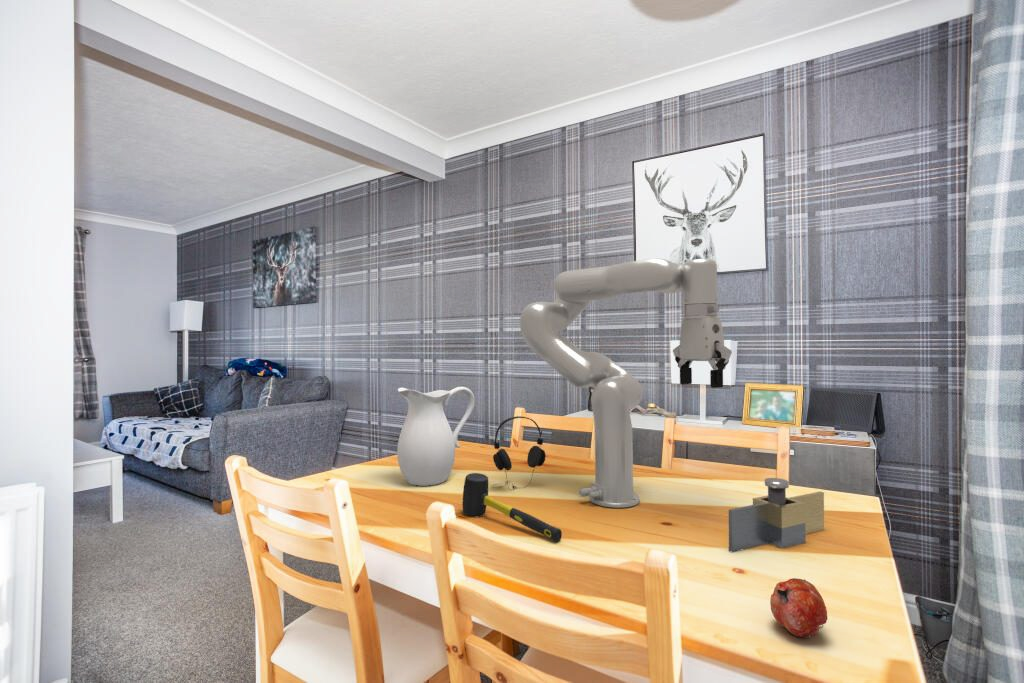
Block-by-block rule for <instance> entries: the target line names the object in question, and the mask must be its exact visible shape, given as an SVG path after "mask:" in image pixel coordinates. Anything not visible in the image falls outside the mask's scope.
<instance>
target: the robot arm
mask: <svg viewBox="0 0 1024 683" xmlns="http://www.w3.org/2000/svg"><path fill="white" fill-rule="evenodd" d="M717 268H718V267H717V263H716V261H715V260H714V259H712V258H695V259H694V258H693V259H689V260H686V261H685V262H684V263H677V262H673V261H671V260H668V259H664V258H649V259H642V260H633V261H626V262H621V263H618V264H617V263H616V264H612V265H607V266H605V265H604V266H599V267H588V268H581V269H571V270H566V271H563V272H561V273H559V274H558V275H557V276H556V277H555V279H554V282H553V291H554V293H555V295H556V297H557V298H556V299H555V300H554V301H553V302H550V301H536V302H532V303H529V304H528V305H526V306H525V307H524V308H523V310H522V312H521V314H520V318H519V327H520V328H519V329H520V334H521V337H522V339H523V340H524V342H525V343H526V345H527V346H528V347H529V349H530V350H531V351H532V352H533V353H535V355H537V356H538V357H540V358H541V359H542V360H543V361H544V362H546V364H548V365H549V366H550V367H551V369H552V368H553V369H554V370H555V371H556V373H558V374H559V375H561V377H563V378H564V379H565V380H567V381H568V382H569V383H570V384H571V385H573V386H574V387H576V388H579V389H586V388H590V387H591V388H593V390H592V392H591V400H590V402H591V408H592V416H593V423H594V424H593V426H594V471H595V472H594V473H595V475H594V476H595V477H594V478H595V480H594V482H593V481H592V482H591V486H589V487H584V488H579V490H578V494H579V497H589V498H588V499H589V501H590V502H591V503H592V504H595V505H597V506H600V507H606V508H613V509H614V508H617V509H621V508H622V509H623V508H631V507H634V506H637V505H638V504H639V503H640V499H641V498H640V496H639V494H637V493H635V492H634V458H633V457H634V456H633V455H634V448H633V445H634V443H633V442H634V441H633V426H632V425H633V424H632V419H631V412H630V410H633V409H634V408H636V407H637V406H639V404H640V403H641V402H642V399H643V388H642V385H641V384H640V381H638V379H637V378H635V376H633V375H632V374H630V372H628V371H627V370H625V369H624V368H623V367H621V366H620V365H618V363H616V362H615V361H613V360H612V359H611V358H610V357H608V356H607V355H605V354H603V353H600V352H598V351H584V350H582V349H581V348H580V347H578V346H576V345H575V344H573V343H572V341H570V340H569V339H567V338H566V337H565V336H563V335H562V334H560V332H562V331H564V330H566V329H567V328H569V326H571V324H572V323H573V322H575V320H576V319H577V318H578V317H579V316H580V315H581V314H582V312H583V311H585V309H586V308H587V307H588V306H589V305H590V304H591V302H592V301H601V300H603V301H604V300H605V301H606V300H614V299H616V298H618V297H619V296H621V295H626V294H632V293H633V294H634V293H646V292H660V293H663V294H667V295H668V294H671V295H672V294H676V293H682V316H683V318H682V319H681V325H680V333H679V345H678V346H676V347H675V348H673V349H672V353H673V356H674V360H675V362H676V363H677V367H678V368H679V384H680V385H682V386H683V385H691V384H692V383H693V380H692V379H693V376H692V374H693V373H692V372H693V369H692V367H690V366H691V365H692V363H693V362H708V363H709V365H710V367H711V368H712V369H710V372H709V373H710V375H709V376H710V378H709V379H710V380H709V381H710V387H711V389H712V388H713V389H715V388H717V389H718V388H723V387H724V370H726V366H727V365H728V364H729V362H730V358H731V357H732V356H731V355H733V354H732V353H733V351H732V349H730V348H728V347H727V346H726V345H725V337H724V330H723V329H724V328H723V324H722V321H721V318H720V317H718V312H719V311H720V307H719V306H718V269H717Z"/></svg>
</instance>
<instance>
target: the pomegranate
mask: <svg viewBox="0 0 1024 683" xmlns="http://www.w3.org/2000/svg"><path fill="white" fill-rule="evenodd" d="M769 602H770V610H771V613H772V616H773V617H774V619H775V620H776V622H777V623H778V624H779V625H781V626H782V627H784V628H785V627H786V630H788V632H789V633H791V634H792V635H794V636H796V637H800V638H805V637H808V638H810V637H812V636H816V635H817V634H818V633H819V627H821V625H825V624H827V621H828V609H827V606H826V604H825V601H824V598H823V596H822V595H821V593H820V591H818V589H817V587H816V586H815V585H814V584H812V583H811V582H810V581H808V580H806V579H802V578H796V577H793V578H789V579H787V580H785V581H779V582H778V583H776V585H775V587H774V590H773V593H772V594H771V596H770V601H769ZM809 636H810V637H809Z"/></svg>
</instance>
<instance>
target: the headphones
mask: <svg viewBox="0 0 1024 683" xmlns="http://www.w3.org/2000/svg"><path fill="white" fill-rule="evenodd" d="M515 419H526V420H530V421H531V422H533V423H534V425H535V426H536V428H537V430H538V433H539V437H538V438H537V441H536V444H537V445H532V447H531V448H530V449H529V451H528V454H527V459H526V462H527V466H528V467H529V468H533V470H532V472H534V471H535V468H536V467H541V466H543V465H544V464H545V462H546V457H547V456H546V451H545V450H544V449H542V448H541V447H540V446H543V443H544V439H543V437H542V436H543V430H541V429H540V427H539V425H538V423H537V422H536V421H535V420H534V419H532V418H529V417H526V416H518V415H517V416H512V417H509V418H507V419H505V420H503V421H502V422H501V423H500V424H499V425H498V427H497V429H496V432H495V435H494V437H495V438H494V442H493V447H494V448H493V449H495V450H497V451H496V453H494V454H493V455H492V458H493V460H492V461H493V463H494V465H495V467H496V468H497V470H498V471H503V470H504V471H505V475H506V478H508V476H507V471H510V470H511V469H512V467H513V466H512V465H513V464H512V461H511V458H510V456H509V454H508V452H507V451H506V450H505V448H501V446H500V442H499V441H498V433H499V431H500V429H501V428H502V427H503V426H504V424H505V423H507V422H509V421H513V420H515ZM538 445H539V446H538ZM533 474H534V473H532V474H531V476H533ZM532 479H533V478H530V481H529V483H528V484H527V485H526V486H525V488H527V487H528V486H529V485H530V483H531V481H532ZM506 486H507V487H508V489H509V490H510V491H511V489H510V488H509V481H507V482H506ZM512 487H513V488H514V487H516V486H514V485H512ZM514 489H515V488H514Z"/></svg>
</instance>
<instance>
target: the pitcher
mask: <svg viewBox="0 0 1024 683" xmlns="http://www.w3.org/2000/svg"><path fill="white" fill-rule="evenodd" d="M397 392H398V393H399V394H400V395H401V396H402V397H404V398H405V400H406V402H407V405H408V407H407V414H406V417H405V419H404V421H403V424H402V427H401V430H400V434H399V438H398V441H397V447H396V448H397V450H396V453H397V454H396V455H397V463H398V466H399V469H400V472H401V474H402V475H403V477H404V479H405V480H406V482H407V483H408V484H409V483H410V485H412V486H416V485H418V486H419V487H429V485H430V486H435V485H440V484H442V483H443V482H445V481H447V479H448V477H449V476H450V474H451V473H452V470H453V467H454V465H455V464H454V463H455V458H456V448H457V449H460V448H461V446H460V444H459V442H458V437H459V434H460V433H461V431H462V428H463V427H464V425H465V424H466V423H467V420H468V419H469V418H470V416H471V414H472V412H473V410H474V407H475V404H476V398H475V395H474V393H473V391H472V390H471V389H470V388H468V387H465V386H457V387H454V388H452V389H451V390H445V389H444V390H443V389H437V390H434V391H429V392H421V391H418V390H415V389H409V388H405V387H403V386H402V387H399V388H398V389H397ZM457 393H464V394H466V396H467V397H468V405H467V408H466V411H465V413H464V414H463V416H462V417H461V419H460V421H459V423H457V425H456V427H455V429H454V431H452V428H451V426H450V422H449V420H448V419H447V417H446V415H445V414H446V413H445V412H444V406H445V407H446V406H448V404H449V400H450V399H451V398H452V397H453V396H454V395H456V394H457Z"/></svg>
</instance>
